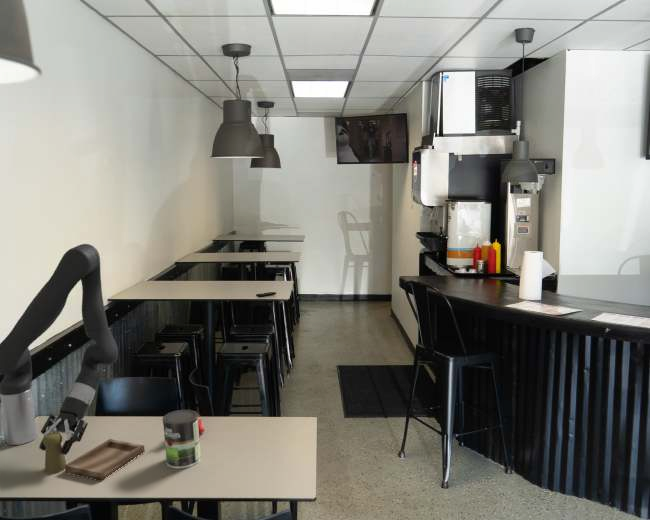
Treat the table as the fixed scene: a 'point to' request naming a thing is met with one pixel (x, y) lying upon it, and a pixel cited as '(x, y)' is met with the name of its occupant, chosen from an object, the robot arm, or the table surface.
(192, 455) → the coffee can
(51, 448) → the cork
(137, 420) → the table surface
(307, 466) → the table surface
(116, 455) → the walnut tray
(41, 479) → the table surface
